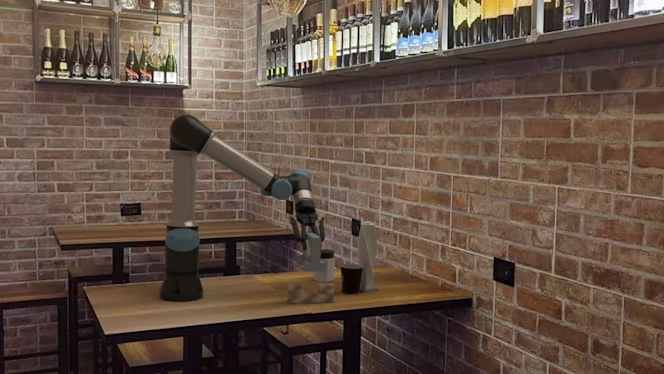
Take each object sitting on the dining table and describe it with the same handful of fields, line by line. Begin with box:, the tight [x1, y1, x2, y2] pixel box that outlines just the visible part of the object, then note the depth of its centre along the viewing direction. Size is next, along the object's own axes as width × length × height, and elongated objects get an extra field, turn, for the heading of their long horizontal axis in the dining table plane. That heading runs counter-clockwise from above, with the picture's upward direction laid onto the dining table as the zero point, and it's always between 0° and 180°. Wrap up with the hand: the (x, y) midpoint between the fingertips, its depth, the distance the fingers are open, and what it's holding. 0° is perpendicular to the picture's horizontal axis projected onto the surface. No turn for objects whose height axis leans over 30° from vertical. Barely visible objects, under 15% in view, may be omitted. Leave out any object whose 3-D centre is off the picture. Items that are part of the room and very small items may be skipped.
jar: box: [312, 248, 336, 283], centre depth 264 cm, size 9×8×12 cm
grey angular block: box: [296, 230, 325, 273], centre depth 233 cm, size 14×7×12 cm, turn 17°
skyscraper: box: [357, 216, 379, 293], centre depth 250 cm, size 8×8×28 cm
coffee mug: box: [340, 263, 363, 295], centre depth 246 cm, size 12×9×10 cm
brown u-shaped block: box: [287, 283, 335, 304], centre depth 228 cm, size 16×3×6 cm, turn 105°
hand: (313, 256), depth 229 cm, fingers closed on grey angular block, 3 cm apart
